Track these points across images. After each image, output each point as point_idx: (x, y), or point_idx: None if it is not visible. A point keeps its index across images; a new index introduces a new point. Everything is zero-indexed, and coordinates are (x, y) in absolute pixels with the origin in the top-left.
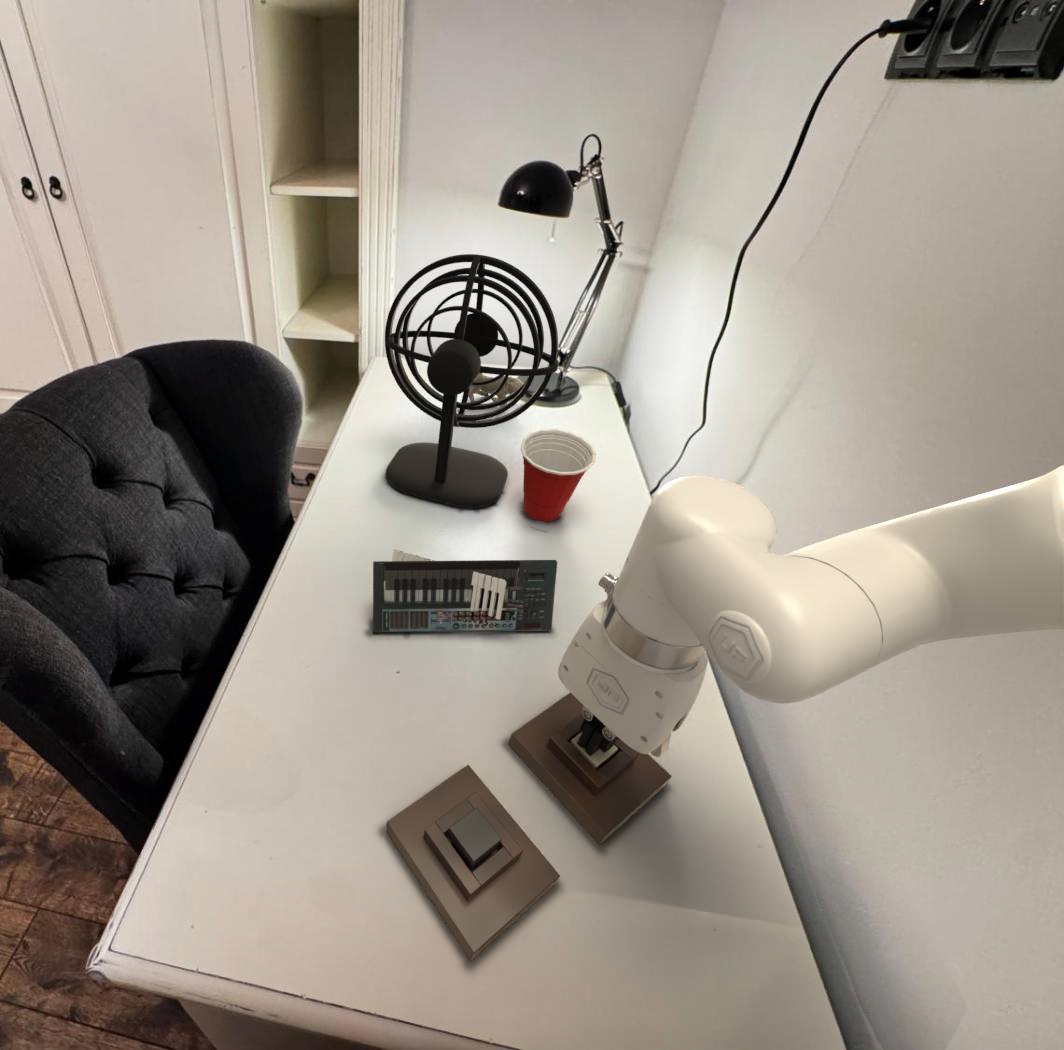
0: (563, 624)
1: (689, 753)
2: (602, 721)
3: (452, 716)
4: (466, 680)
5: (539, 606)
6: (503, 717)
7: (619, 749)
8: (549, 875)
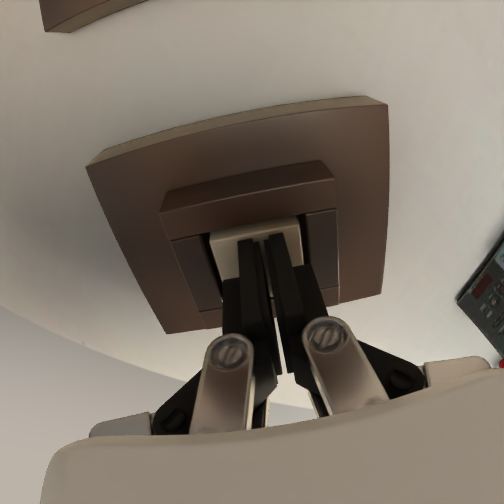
0: (446, 319)
1: None
2: (238, 449)
3: (458, 44)
4: (492, 124)
5: (497, 316)
6: (414, 130)
7: None
8: (53, 10)
